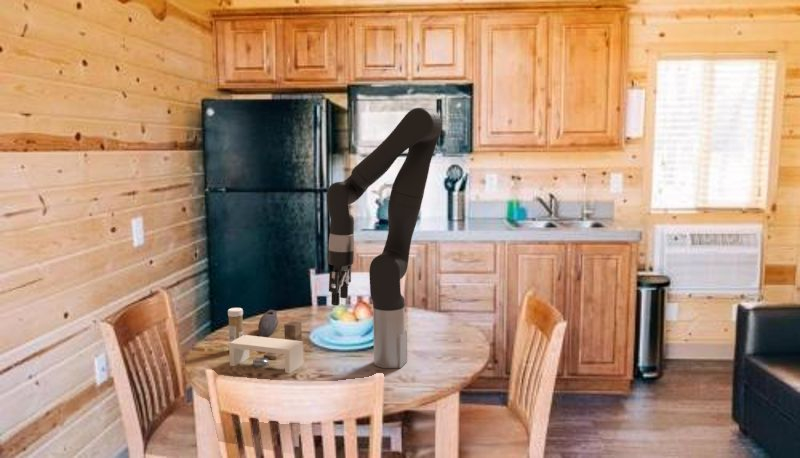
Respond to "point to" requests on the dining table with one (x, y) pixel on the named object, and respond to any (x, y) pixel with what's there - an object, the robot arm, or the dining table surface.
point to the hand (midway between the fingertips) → (339, 301)
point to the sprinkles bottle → (235, 323)
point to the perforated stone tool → (268, 323)
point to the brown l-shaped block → (288, 337)
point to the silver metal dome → (260, 362)
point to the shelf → (267, 350)
